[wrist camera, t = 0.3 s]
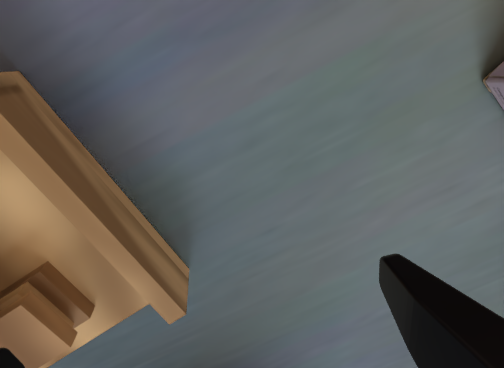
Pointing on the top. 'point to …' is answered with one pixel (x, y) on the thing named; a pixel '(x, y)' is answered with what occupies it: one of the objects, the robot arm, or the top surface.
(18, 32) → the top surface
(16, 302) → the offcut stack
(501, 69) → the cake pan box
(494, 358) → the robot arm
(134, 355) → the top surface
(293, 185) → the top surface
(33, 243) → the pine rack
